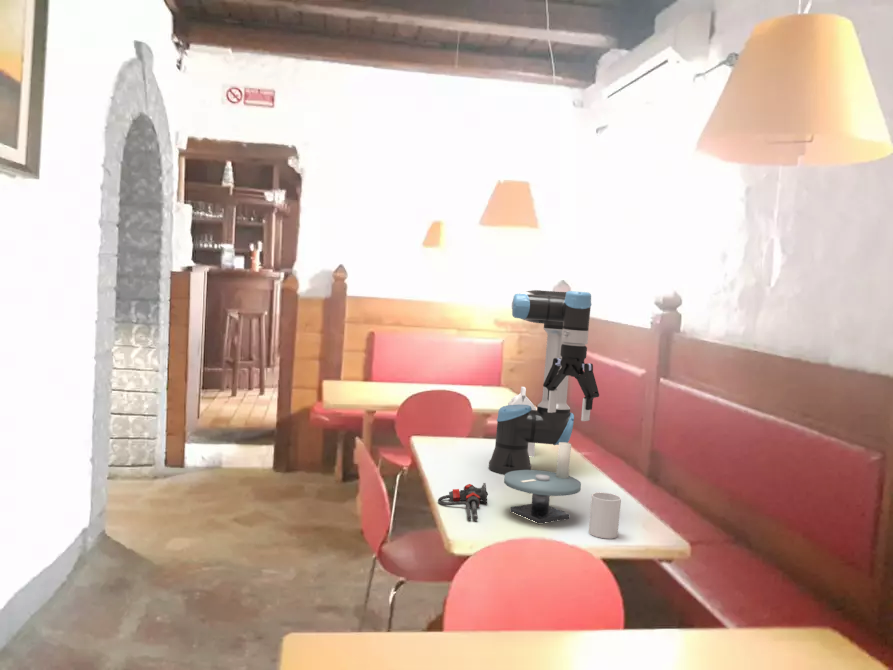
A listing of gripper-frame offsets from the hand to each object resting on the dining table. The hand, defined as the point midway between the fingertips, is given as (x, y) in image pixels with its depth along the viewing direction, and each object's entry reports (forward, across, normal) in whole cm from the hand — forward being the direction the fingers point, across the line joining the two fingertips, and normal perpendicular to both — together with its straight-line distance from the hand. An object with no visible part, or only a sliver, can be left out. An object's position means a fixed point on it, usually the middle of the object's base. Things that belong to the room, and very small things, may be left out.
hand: (568, 416), depth 227 cm
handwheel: (+20, 0, -8) cm, 21 cm away
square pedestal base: (+29, 0, -8) cm, 30 cm away
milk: (+29, -66, +43) cm, 84 cm away
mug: (+29, +18, -2) cm, 34 cm away
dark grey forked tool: (+29, -15, -24) cm, 41 cm away
